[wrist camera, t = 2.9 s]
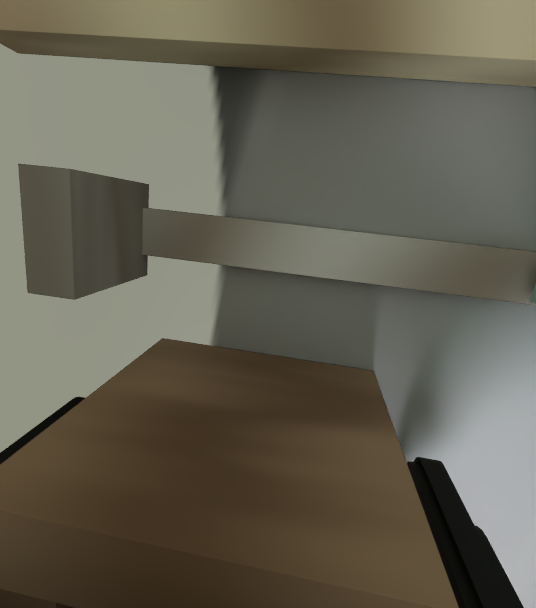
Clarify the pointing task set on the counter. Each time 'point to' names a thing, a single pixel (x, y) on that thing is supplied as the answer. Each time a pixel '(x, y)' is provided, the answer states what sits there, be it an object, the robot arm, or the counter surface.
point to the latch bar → (533, 295)
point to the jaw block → (219, 493)
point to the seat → (274, 56)
